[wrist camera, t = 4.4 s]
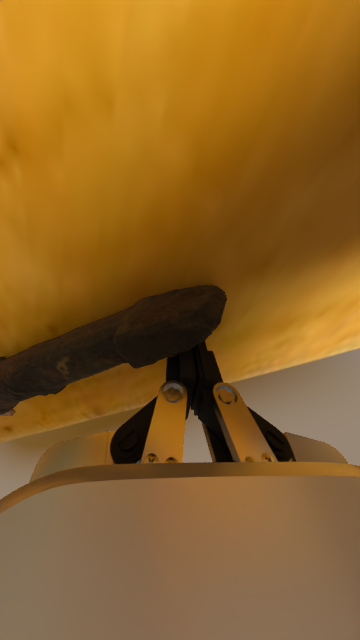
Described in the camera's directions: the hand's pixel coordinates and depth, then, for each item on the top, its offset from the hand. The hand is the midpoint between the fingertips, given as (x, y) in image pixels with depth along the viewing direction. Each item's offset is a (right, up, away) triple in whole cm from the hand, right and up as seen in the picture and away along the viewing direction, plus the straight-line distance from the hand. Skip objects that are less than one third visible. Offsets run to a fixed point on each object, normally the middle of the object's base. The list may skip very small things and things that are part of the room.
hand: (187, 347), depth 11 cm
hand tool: (-7, +2, +1) cm, 7 cm away
